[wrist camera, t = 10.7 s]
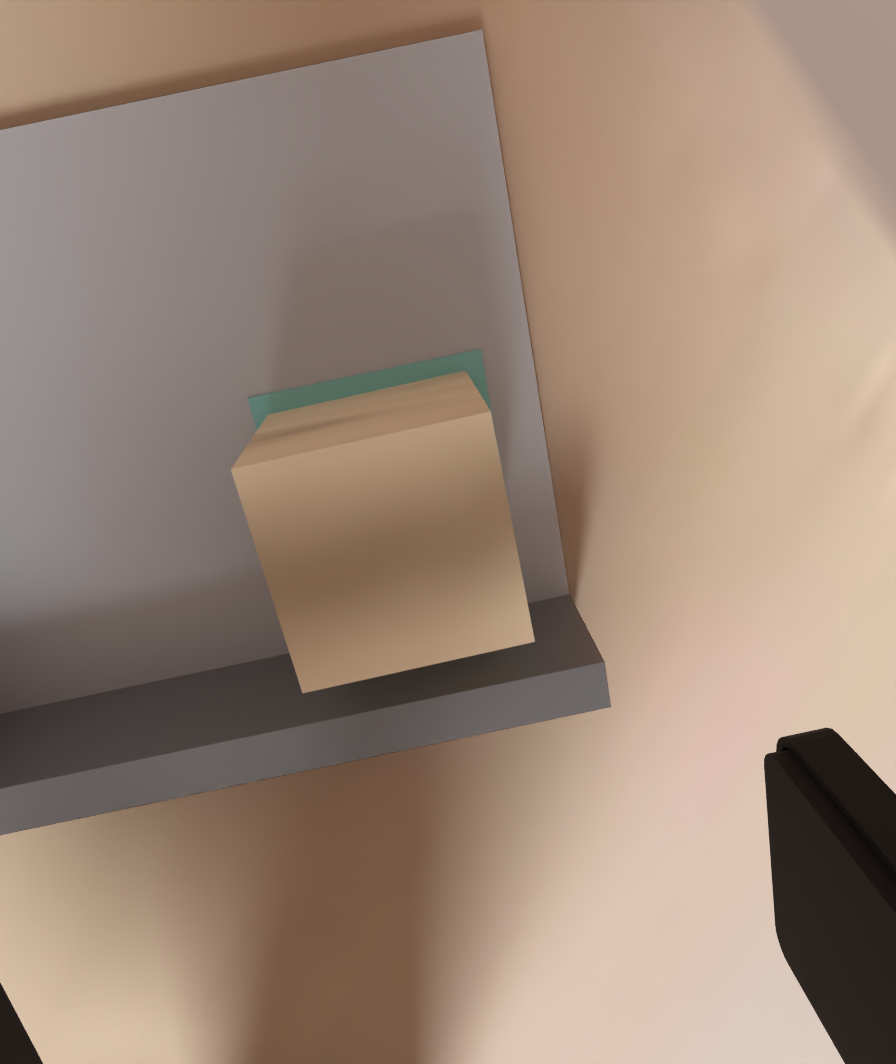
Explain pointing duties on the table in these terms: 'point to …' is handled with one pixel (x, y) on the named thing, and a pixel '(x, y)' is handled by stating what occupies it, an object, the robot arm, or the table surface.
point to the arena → (243, 418)
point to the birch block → (385, 531)
